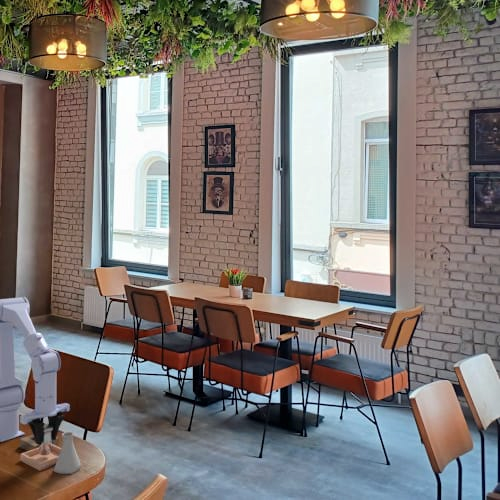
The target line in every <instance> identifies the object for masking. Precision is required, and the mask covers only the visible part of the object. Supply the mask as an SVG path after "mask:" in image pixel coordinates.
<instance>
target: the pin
mask: <svg viewBox="0 0 500 500" xmlns="http://www.w3.org/2000/svg"><path fill="white" fill-rule="evenodd" d="M53 429H54V426H53V425H52V424H49V423H45V424H44V428H43V433H42V445H40V455H49V454H51V448H52V430H53Z"/></svg>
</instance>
